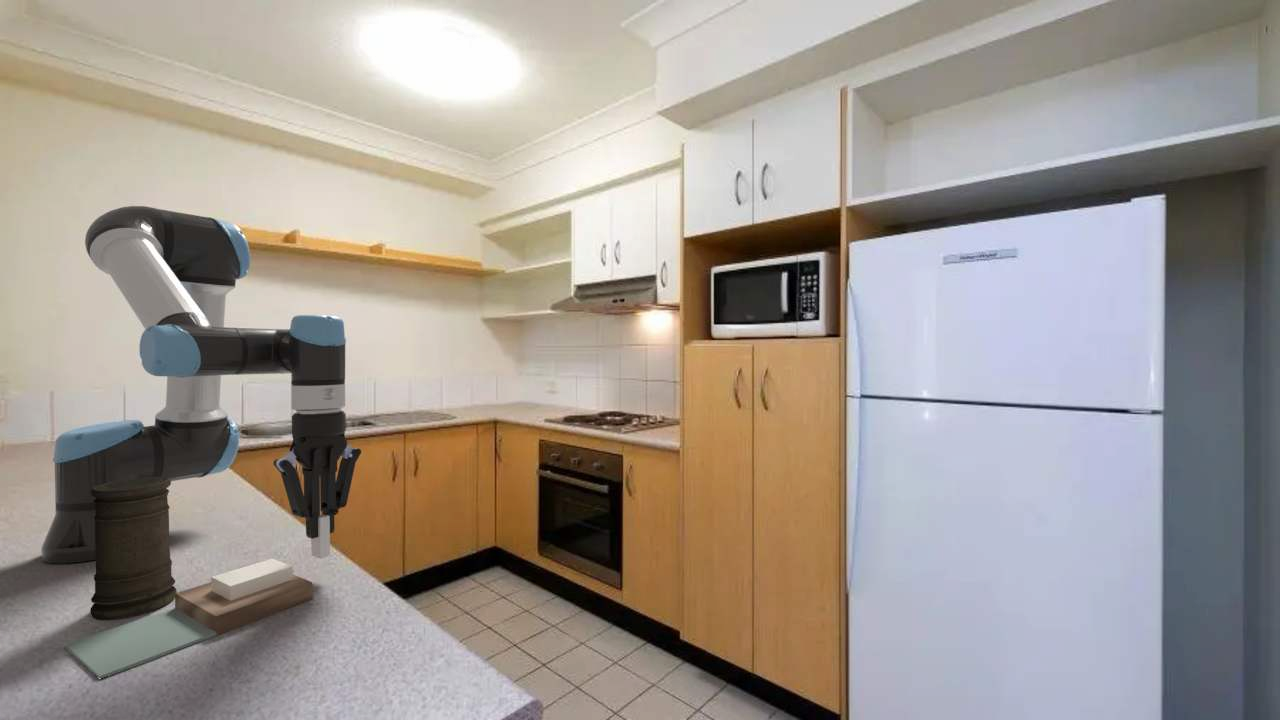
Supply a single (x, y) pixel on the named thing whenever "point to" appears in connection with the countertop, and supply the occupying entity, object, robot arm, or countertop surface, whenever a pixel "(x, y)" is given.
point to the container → (132, 548)
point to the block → (251, 579)
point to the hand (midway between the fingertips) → (320, 555)
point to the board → (240, 604)
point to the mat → (138, 642)
